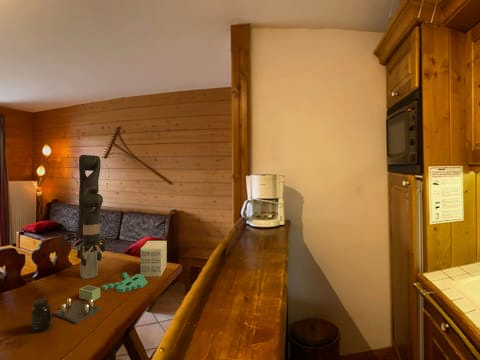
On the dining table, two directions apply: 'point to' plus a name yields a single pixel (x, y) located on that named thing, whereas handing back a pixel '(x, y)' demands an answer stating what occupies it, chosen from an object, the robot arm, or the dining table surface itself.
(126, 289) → the alien figure
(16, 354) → the dining table surface
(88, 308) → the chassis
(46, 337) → the dining table surface
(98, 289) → the block
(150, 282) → the dining table surface
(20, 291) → the dining table surface
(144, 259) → the supplement box
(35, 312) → the supplement bottle
